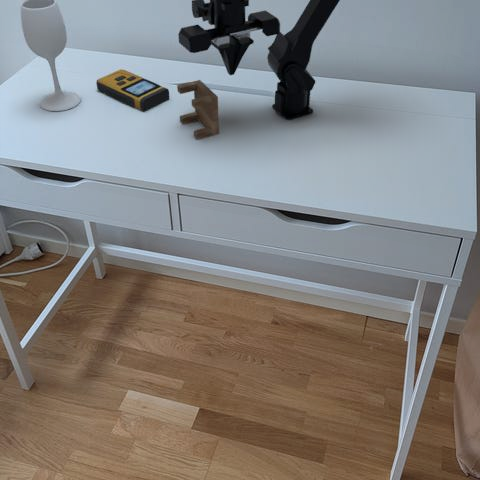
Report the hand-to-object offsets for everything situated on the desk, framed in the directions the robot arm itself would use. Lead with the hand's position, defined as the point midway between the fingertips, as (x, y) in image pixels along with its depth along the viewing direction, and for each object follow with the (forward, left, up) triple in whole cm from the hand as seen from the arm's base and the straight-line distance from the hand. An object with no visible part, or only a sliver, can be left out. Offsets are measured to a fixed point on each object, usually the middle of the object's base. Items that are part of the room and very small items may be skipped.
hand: (231, 74), depth 115 cm
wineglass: (+29, -24, -10) cm, 39 cm away
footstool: (+7, 0, -10) cm, 12 cm away
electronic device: (+14, -20, -10) cm, 27 cm away
